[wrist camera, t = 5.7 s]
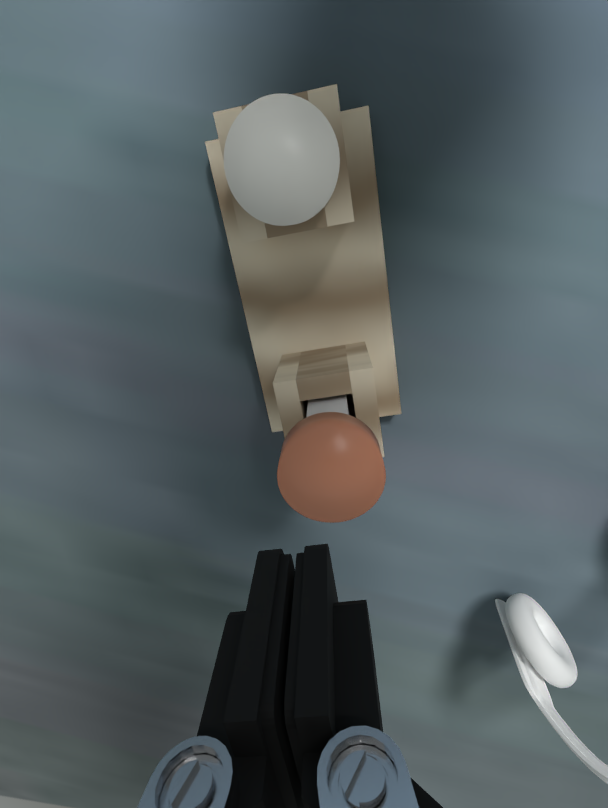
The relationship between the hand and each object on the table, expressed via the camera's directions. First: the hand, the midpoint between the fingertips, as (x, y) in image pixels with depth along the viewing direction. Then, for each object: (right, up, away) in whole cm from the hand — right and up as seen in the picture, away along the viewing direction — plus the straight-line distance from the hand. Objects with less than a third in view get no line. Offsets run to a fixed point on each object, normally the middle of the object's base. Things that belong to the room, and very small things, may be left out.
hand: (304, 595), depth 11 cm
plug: (-1, +18, +16) cm, 25 cm away
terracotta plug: (+2, +4, +18) cm, 18 cm away
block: (+1, +13, +21) cm, 24 cm away
